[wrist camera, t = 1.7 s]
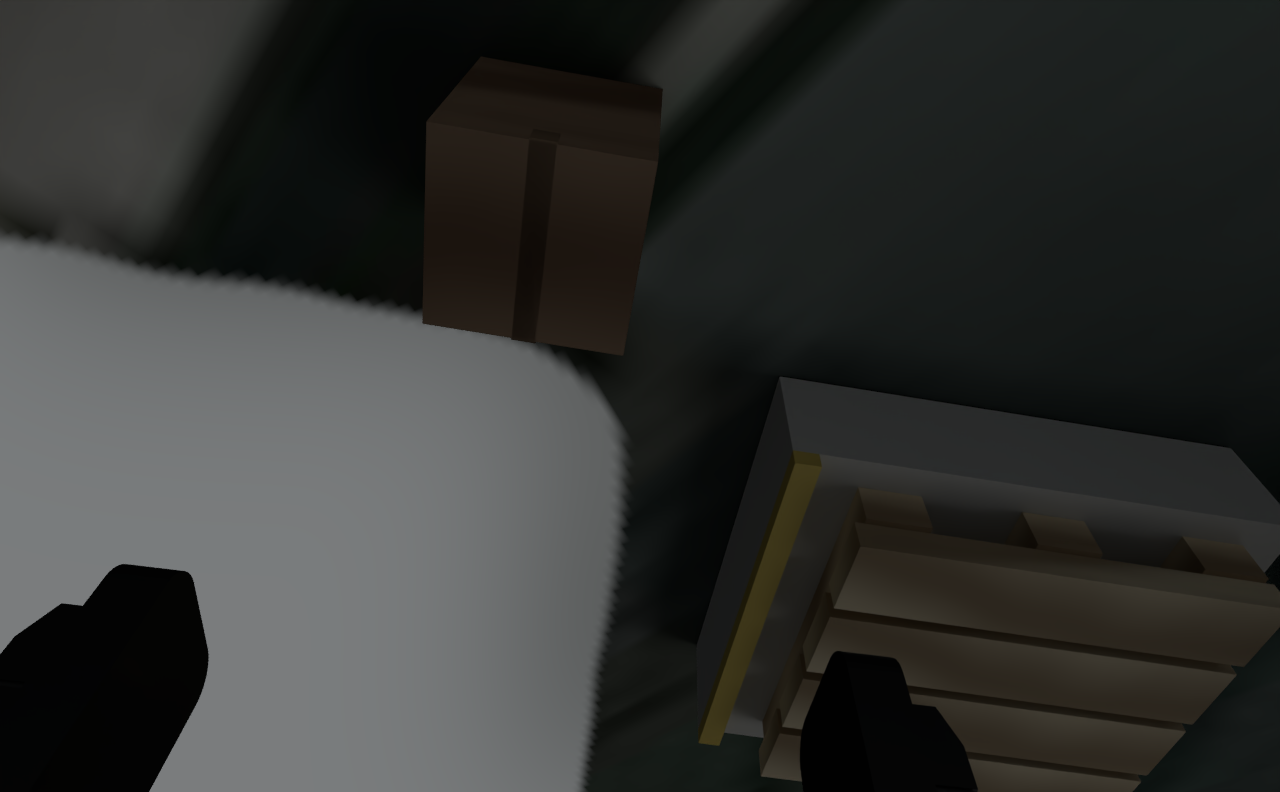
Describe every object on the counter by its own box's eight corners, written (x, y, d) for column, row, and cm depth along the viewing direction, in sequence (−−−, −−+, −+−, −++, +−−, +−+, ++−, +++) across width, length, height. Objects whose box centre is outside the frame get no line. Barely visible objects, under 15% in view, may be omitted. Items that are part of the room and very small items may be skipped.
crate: (479, 53, 23) (423, 119, 18) (664, 87, 23) (660, 160, 18) (470, 227, 26) (420, 325, 21) (635, 255, 26) (624, 357, 21)
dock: (779, 376, 28) (795, 462, 24) (1230, 448, 29) (1313, 542, 25) (696, 645, 36) (698, 743, 32) (1053, 695, 37) (1096, 795, 33)
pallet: (848, 485, 26) (862, 541, 24) (1251, 546, 26) (1298, 605, 24) (754, 720, 32) (759, 779, 30) (1078, 763, 33) (1103, 823, 31)
